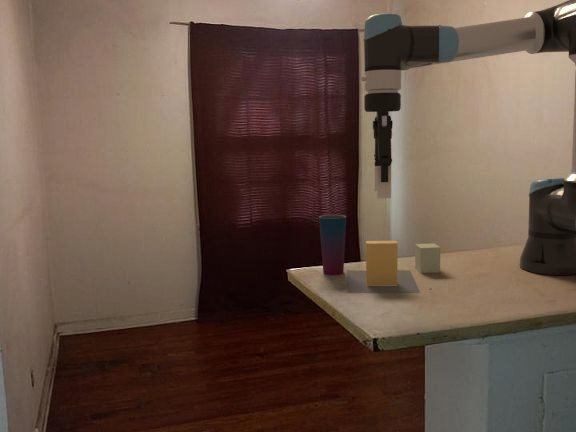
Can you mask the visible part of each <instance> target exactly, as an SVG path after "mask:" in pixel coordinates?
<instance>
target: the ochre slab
mask: <svg viewBox="0 0 576 432" xmlns="http://www.w3.org/2000/svg"><path fill="white" fill-rule="evenodd" d="M365 255H366V256H365V257H366V258H365V261H366V262H365V264H366V265H365V269H366V270H365V271H366V284H367V286H397V270H398V242H397V240H366V241H365Z"/></svg>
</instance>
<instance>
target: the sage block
mask: <svg viewBox="0 0 576 432" xmlns="http://www.w3.org/2000/svg"><path fill="white" fill-rule="evenodd" d="M414 246H415V247H414V269H415V270H416V271H417V272H419V274H429V273H441V246H439V245H437V244H436V243H435V242H434V243H432V242H431V243H415V245H414Z"/></svg>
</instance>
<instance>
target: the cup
mask: <svg viewBox="0 0 576 432" xmlns="http://www.w3.org/2000/svg"><path fill="white" fill-rule="evenodd" d="M318 220H319V234H320V247H321V257H322V269H323V270H322V271H323V274H324V275H328V276H339V275H342V274H344V272H345V271H344V267H345V253H346V252H345V251H346V249H345V248H346V247H345V246H346V229H347V215H344V214H324V215H319V217H318Z"/></svg>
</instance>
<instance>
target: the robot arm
mask: <svg viewBox="0 0 576 432" xmlns="http://www.w3.org/2000/svg"><path fill="white" fill-rule="evenodd" d="M363 29H364V30H363V31H364V34H363V51H364V53H363V54H364V76H362V77H361V79H360V80H361V81H362V82H364V91H365V92H366V93H365V95H364V96H363V97H364V99H363V100H364V106H363V107H364V111H365V112H366V113H376V116H375V117H374V120H373V121H372V130H373V139H374V155H373V157H374V192H377V194H376V195H377V196H376V198H377V199H392V166H391V165H392V163H393V159H392V137H393V132H392V131H393V120H392V117H391V115H390V114H389V112H399V111H401V109H402V104H401V103H402V95H401V92H399V91H401V89H402V71H408V70H410V69H415V68H422V67H427V66H432V65H440V64H446V63H447V64H448V63H453V62H459V61H467V60H473V59H479V58H486V57H492V56H498V55H505V54H512V53H513V54H514V53H518V52H519V53H521V52H526V53H527V54H530V55H534V54H535V55H536V54H540V53H542V54H543V53H568V59H569V60H571V62H573V63H574V66H576V0H566V1H564V2H561V3H559V4H557V5H554V6H551V7H548V8H544V9H541V10H537V11H530V12H528V13H527V14H526V15H524V17H519V18H514V19H505V20H500V21H492V22H485V23H480V24H473V25H466V26H458V27H454V26H452V25H451V26H450V25H441V24H439V25H406V24H403V22H402V17H401V16H400V15H399V14H397V13H378V14H373V15H370V16H368V17H367V18H366V19H365V21H364V28H363ZM574 75H575V77H574V96H573V97H574V101H573V102H574V103H573V126H572V129H573V130H572V132H573V133H572V149H571V150H572V151H571V152H572V153H571V171H570V172H569V174H567V175H566V177H562V178H561V177H560V178H545V179H543V178H542V179H535V180H533V181H531V183H530V187H529V193H528V197H529V200H528V201H529V204H528V234H527V239H526V243H525V245H524V247H523V250H522V252H521V255H520V258H519V267H520V269H522V270H525V271H526V272H531V273H534V274H535V273H536V274H540V275H548V276H549V275H550V276H551V275H552V276H572V275H576V71H575V74H574Z"/></svg>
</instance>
